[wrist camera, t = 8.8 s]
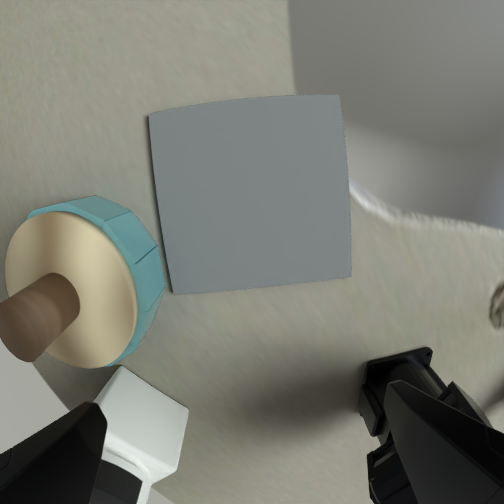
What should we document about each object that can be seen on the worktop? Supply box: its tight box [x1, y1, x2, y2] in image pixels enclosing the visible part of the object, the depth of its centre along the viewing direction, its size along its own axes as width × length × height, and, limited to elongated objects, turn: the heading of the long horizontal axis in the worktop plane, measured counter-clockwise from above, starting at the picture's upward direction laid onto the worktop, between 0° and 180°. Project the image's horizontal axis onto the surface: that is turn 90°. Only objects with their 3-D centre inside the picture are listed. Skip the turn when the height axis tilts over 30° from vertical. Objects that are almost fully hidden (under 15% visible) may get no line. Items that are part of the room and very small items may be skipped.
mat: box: [149, 95, 352, 295], centre depth 18 cm, size 12×12×1 cm
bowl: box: [23, 196, 165, 367], centre depth 17 cm, size 11×11×4 cm
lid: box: [0, 211, 139, 368], centre depth 13 cm, size 10×10×6 cm
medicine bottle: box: [89, 366, 189, 504], centre depth 17 cm, size 7×7×12 cm
